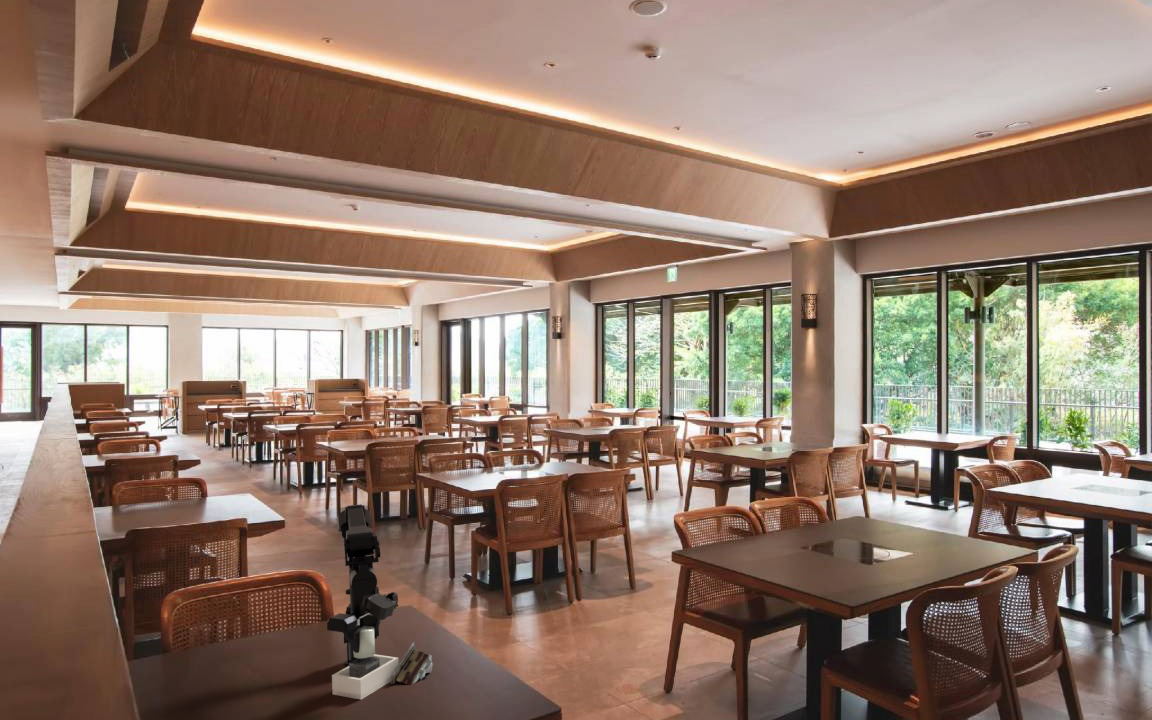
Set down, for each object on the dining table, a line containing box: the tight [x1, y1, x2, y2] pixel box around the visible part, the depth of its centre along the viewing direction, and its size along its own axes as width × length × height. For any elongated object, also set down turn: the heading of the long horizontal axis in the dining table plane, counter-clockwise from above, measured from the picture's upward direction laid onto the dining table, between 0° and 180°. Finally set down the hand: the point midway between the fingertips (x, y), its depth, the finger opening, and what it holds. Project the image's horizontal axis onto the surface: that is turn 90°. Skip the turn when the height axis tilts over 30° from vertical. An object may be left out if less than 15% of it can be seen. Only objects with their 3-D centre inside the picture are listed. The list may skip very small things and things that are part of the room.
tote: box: [331, 653, 400, 700], centre depth 180 cm, size 8×14×4 cm, turn 156°
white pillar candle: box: [353, 626, 376, 658], centre depth 180 cm, size 5×5×6 cm
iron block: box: [349, 657, 380, 678], centre depth 180 cm, size 5×5×5 cm
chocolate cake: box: [389, 641, 434, 686], centre depth 185 cm, size 10×7×12 cm
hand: (364, 648), depth 180 cm, fingers closed on white pillar candle, 5 cm apart
